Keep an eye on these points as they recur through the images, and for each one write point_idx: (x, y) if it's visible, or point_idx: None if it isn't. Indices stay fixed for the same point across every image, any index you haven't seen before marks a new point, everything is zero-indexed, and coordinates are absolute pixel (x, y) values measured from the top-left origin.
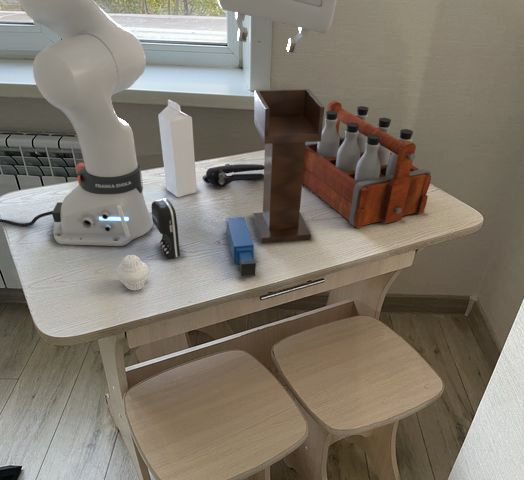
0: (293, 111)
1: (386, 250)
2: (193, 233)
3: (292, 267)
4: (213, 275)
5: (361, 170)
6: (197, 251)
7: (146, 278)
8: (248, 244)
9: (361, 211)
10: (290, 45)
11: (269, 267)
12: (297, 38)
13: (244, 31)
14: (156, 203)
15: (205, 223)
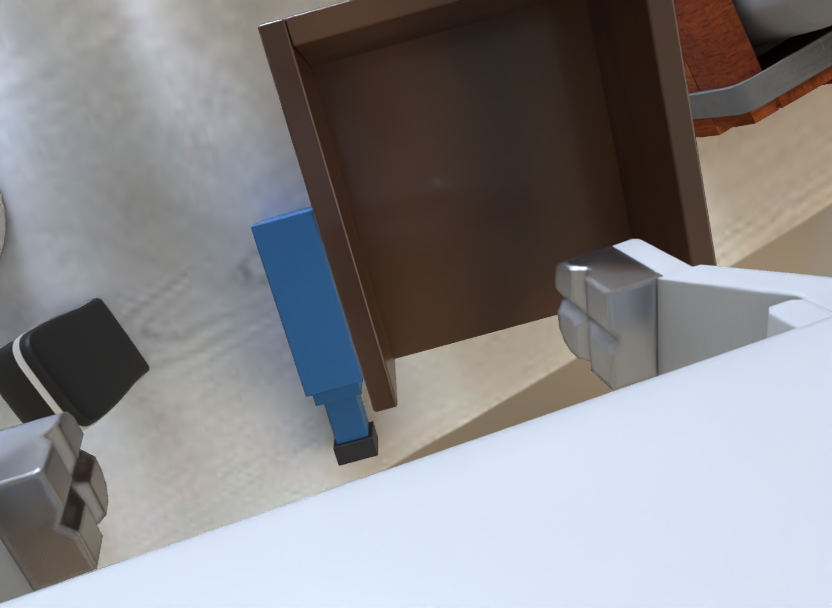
0: (522, 6)
1: (752, 250)
2: (153, 228)
3: (474, 373)
4: (265, 437)
5: (785, 14)
6: (193, 329)
7: (99, 525)
8: (347, 379)
9: (720, 132)
10: (601, 374)
11: (411, 382)
12: (703, 356)
13: (44, 575)
14: (6, 395)
15: (175, 156)
